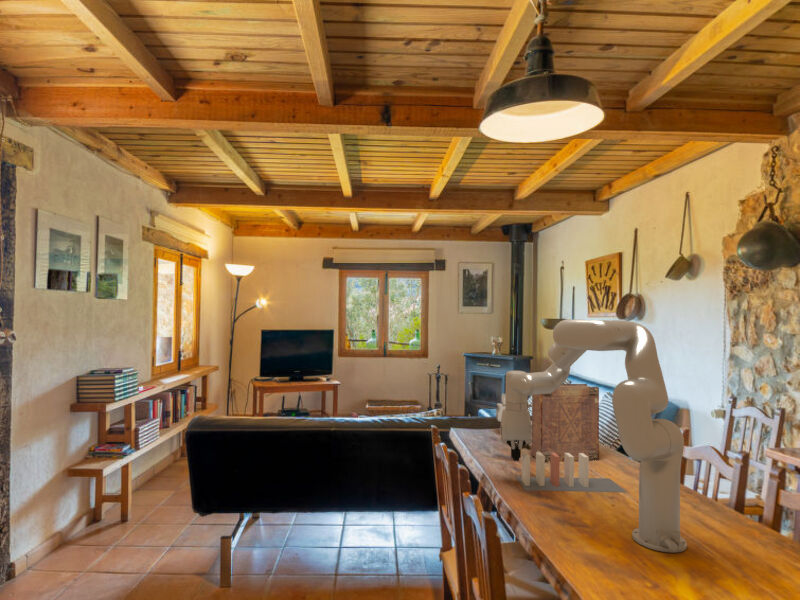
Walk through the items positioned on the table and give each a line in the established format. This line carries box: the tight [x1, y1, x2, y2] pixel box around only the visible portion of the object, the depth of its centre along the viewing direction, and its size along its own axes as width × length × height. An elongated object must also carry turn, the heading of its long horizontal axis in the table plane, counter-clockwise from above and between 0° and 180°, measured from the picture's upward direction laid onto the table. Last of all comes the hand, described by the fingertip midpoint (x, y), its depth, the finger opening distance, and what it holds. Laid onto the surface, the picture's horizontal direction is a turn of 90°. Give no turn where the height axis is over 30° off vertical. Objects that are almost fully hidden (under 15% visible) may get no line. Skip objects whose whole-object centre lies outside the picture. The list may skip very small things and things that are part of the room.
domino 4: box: [563, 453, 575, 487], centre depth 171 cm, size 5×2×10 cm, turn 0°
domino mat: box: [515, 476, 627, 493], centre depth 171 cm, size 14×34×1 cm, turn 90°
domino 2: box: [535, 452, 546, 486], centre depth 171 cm, size 5×2×10 cm, turn 0°
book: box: [531, 383, 600, 463], centre depth 205 cm, size 25×9×30 cm, turn 101°
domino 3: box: [549, 453, 561, 486], centre depth 171 cm, size 5×2×10 cm, turn 0°
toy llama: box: [495, 392, 532, 428], centre depth 242 cm, size 8×18×20 cm, turn 85°
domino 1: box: [521, 451, 531, 486], centre depth 171 cm, size 5×2×10 cm, turn 0°
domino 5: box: [578, 453, 590, 487], centre depth 171 cm, size 5×2×10 cm, turn 0°
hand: (515, 459), depth 171 cm, fingers closed
